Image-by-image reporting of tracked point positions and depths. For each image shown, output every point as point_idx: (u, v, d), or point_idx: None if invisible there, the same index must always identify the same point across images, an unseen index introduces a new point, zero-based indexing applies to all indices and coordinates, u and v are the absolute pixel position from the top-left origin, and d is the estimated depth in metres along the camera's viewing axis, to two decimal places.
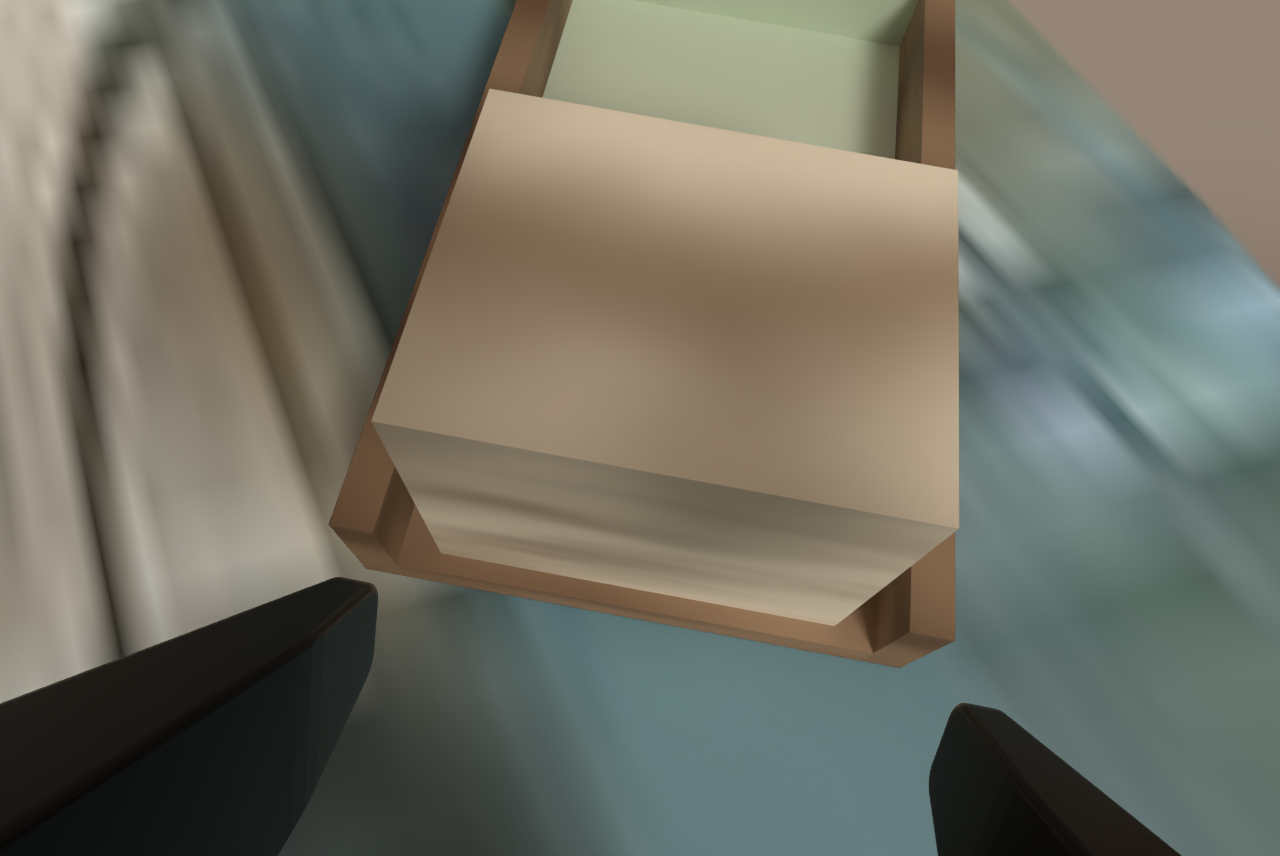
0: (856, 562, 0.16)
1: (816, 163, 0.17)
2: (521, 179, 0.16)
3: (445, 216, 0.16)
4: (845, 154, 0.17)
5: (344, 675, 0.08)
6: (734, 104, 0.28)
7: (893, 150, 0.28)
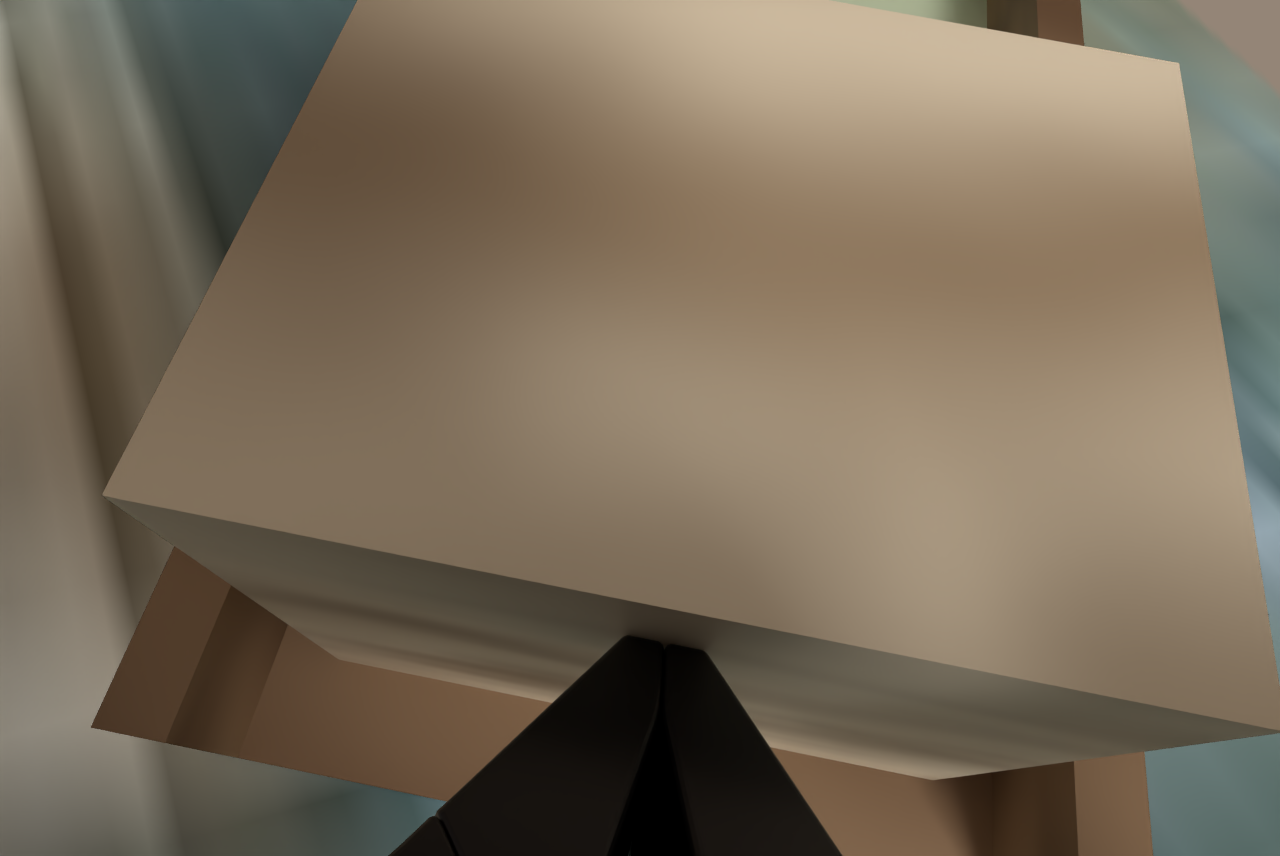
0: (1019, 740, 0.09)
1: (943, 47, 0.10)
2: (440, 60, 0.09)
3: (299, 118, 0.09)
4: (988, 36, 0.10)
5: None
6: None
7: None
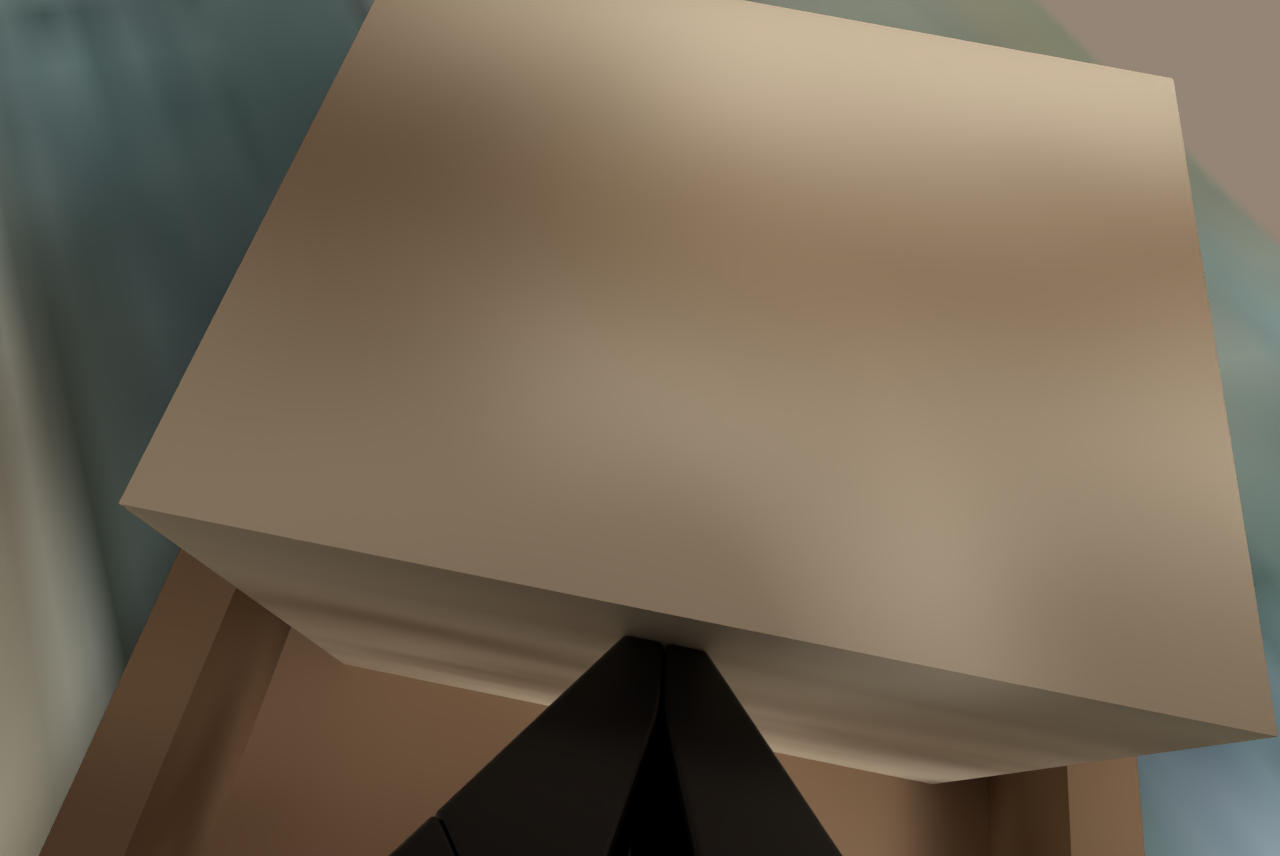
0: (1018, 744, 0.09)
1: (941, 62, 0.10)
2: (448, 76, 0.10)
3: (310, 132, 0.09)
4: (986, 52, 0.11)
5: None
6: None
7: None
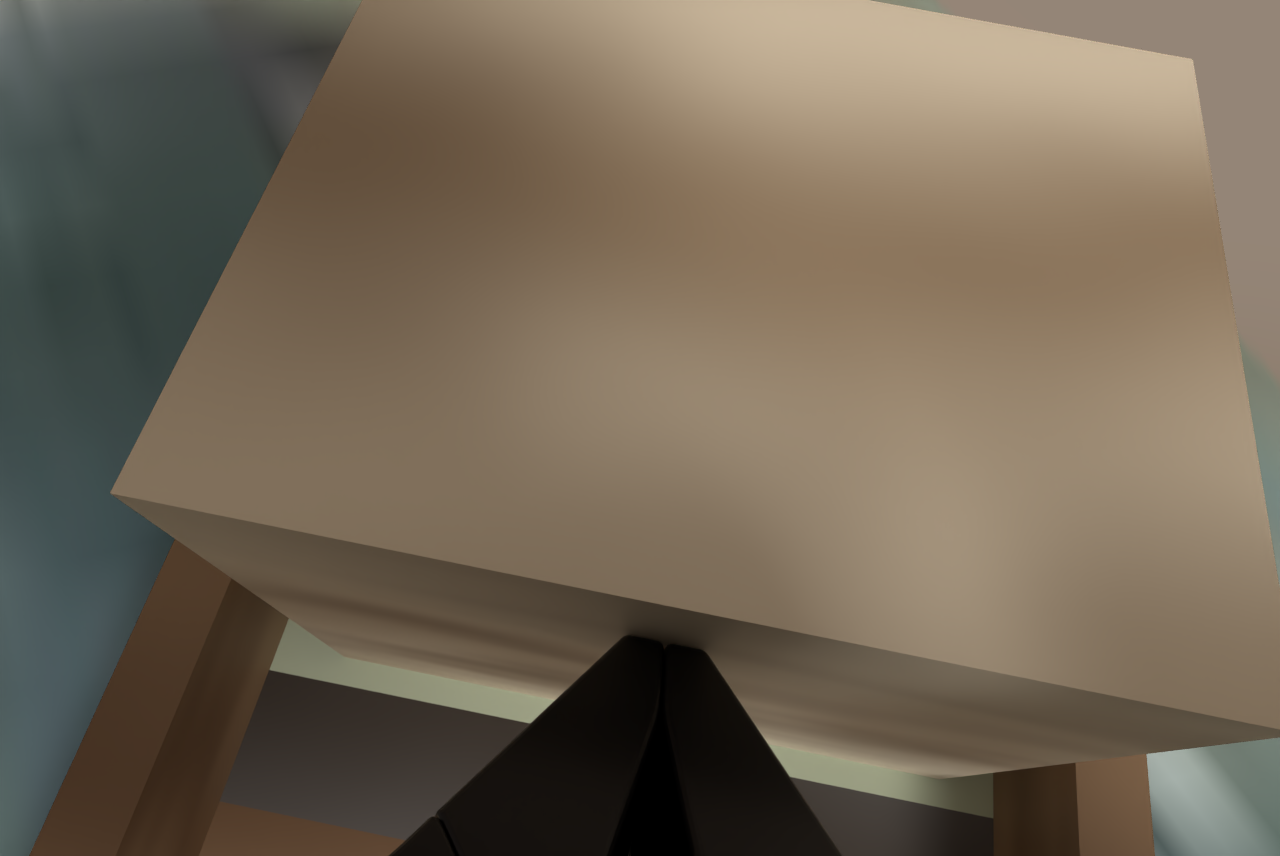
0: (1031, 741, 0.09)
1: (954, 42, 0.10)
2: (449, 55, 0.09)
3: (307, 113, 0.09)
4: (1000, 32, 0.10)
5: None
6: None
7: None
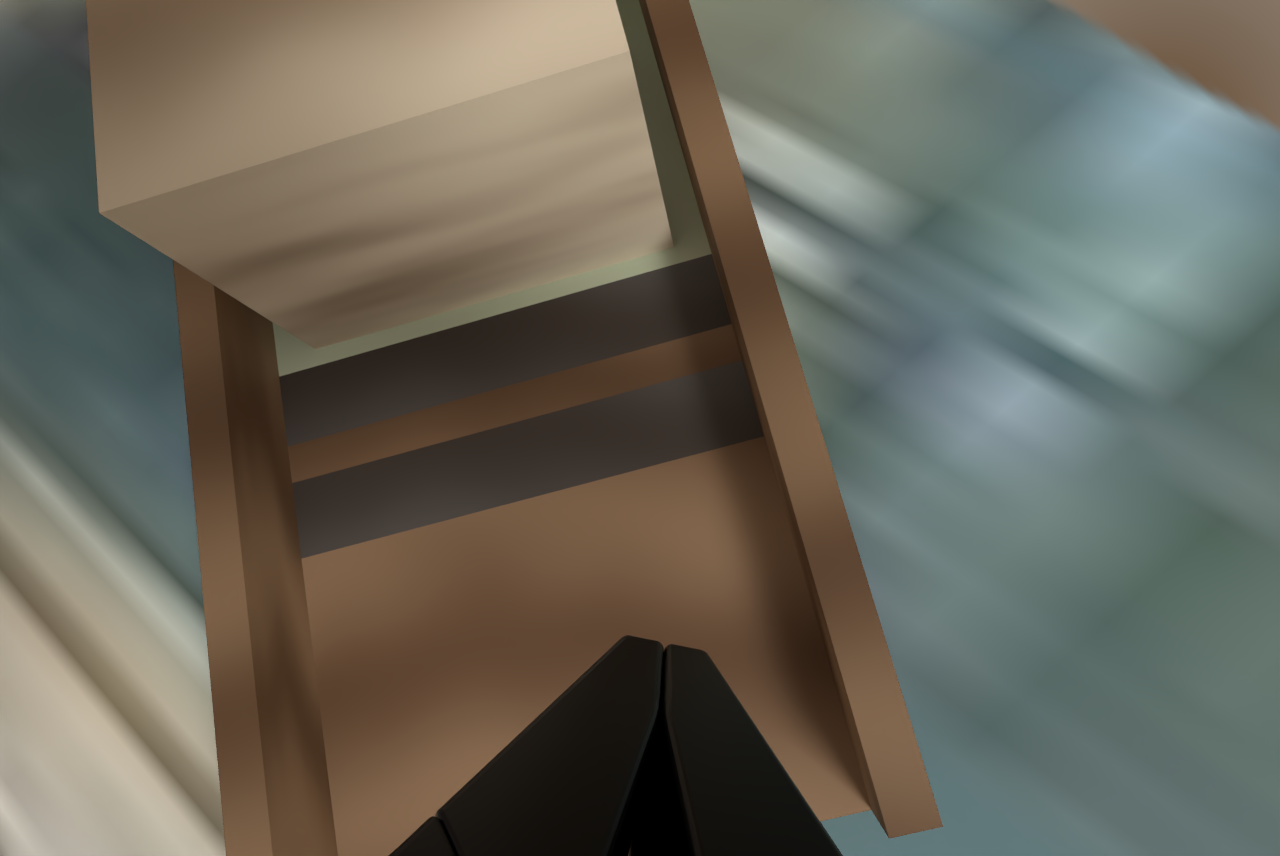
0: (605, 151, 0.17)
1: None
2: None
3: (88, 13, 0.16)
4: None
5: None
6: None
7: (678, 145, 0.22)
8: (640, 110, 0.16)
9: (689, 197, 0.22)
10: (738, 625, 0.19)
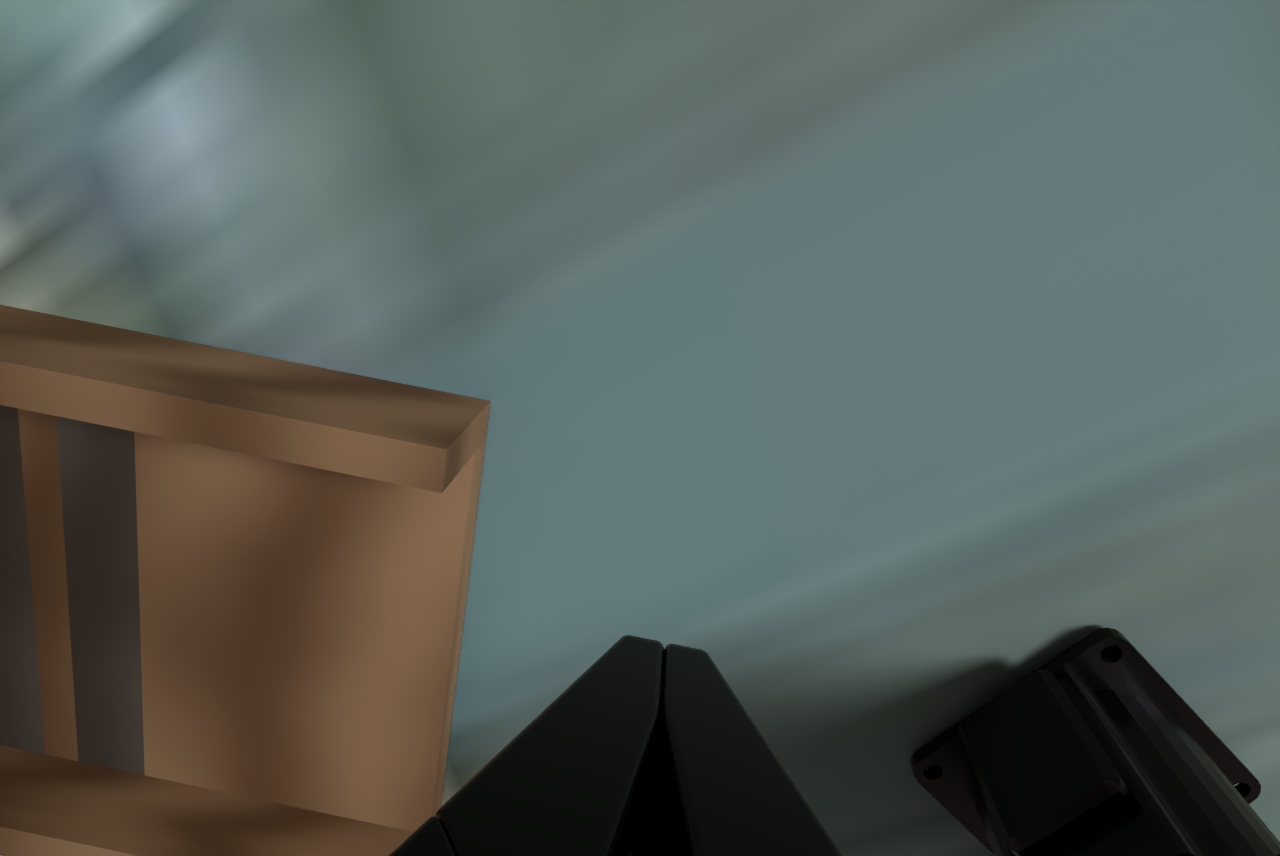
0: None
1: None
2: None
3: None
4: None
5: None
6: None
7: None
8: None
9: None
10: (296, 483, 0.20)
